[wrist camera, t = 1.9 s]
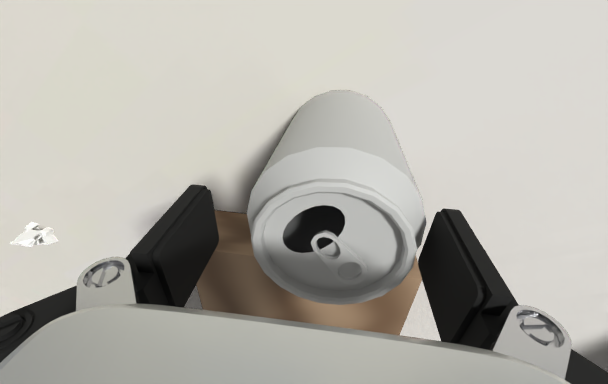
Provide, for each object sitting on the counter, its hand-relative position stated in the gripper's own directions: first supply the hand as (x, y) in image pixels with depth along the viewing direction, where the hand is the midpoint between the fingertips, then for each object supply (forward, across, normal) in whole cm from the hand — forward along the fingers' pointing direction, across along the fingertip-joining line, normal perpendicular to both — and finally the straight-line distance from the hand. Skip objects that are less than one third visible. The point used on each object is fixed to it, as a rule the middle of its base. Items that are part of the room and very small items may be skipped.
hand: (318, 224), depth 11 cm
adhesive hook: (+12, +31, +15) cm, 37 cm away
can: (+10, -1, 0) cm, 11 cm away
